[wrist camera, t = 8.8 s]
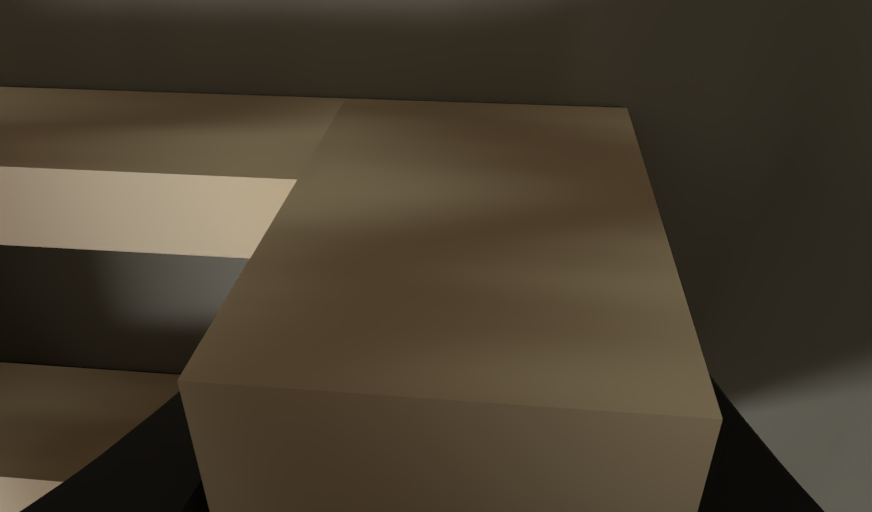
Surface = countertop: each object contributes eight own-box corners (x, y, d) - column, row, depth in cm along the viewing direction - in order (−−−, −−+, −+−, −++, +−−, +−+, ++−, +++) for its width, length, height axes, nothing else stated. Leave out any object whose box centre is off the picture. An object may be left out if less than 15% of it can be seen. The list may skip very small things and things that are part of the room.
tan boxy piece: (644, -17, 9) (778, 210, 4) (572, 507, 13) (594, 888, 9) (-284, -34, 10) (-1033, 128, 5) (-44, 456, 14) (-316, 771, 10)
